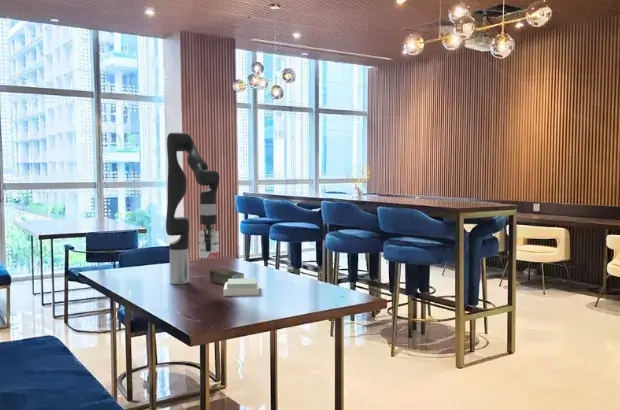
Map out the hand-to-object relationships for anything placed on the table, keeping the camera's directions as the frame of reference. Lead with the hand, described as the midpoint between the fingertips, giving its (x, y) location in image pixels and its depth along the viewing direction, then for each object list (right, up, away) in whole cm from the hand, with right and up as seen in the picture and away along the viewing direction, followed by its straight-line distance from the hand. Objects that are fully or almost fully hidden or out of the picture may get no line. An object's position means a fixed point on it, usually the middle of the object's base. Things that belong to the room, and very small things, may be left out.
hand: (208, 250), depth 257 cm
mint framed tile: (+15, -19, +4) cm, 25 cm away
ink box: (0, -3, 0) cm, 3 cm away
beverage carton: (+5, -19, +24) cm, 31 cm away
